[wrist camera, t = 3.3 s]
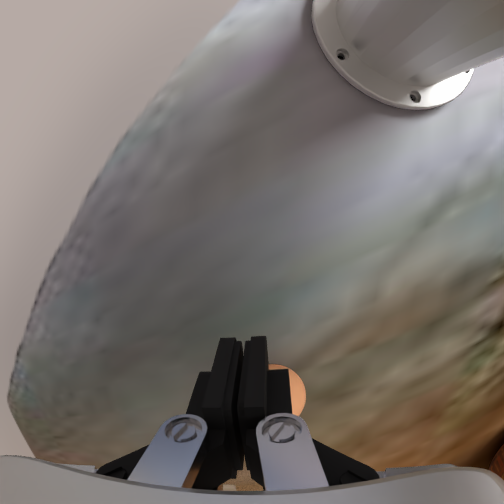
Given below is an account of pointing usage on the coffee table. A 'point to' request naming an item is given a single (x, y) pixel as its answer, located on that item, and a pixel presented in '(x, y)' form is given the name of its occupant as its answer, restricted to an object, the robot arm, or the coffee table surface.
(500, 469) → the bowl
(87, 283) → the coffee table surface
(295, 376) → the ball
